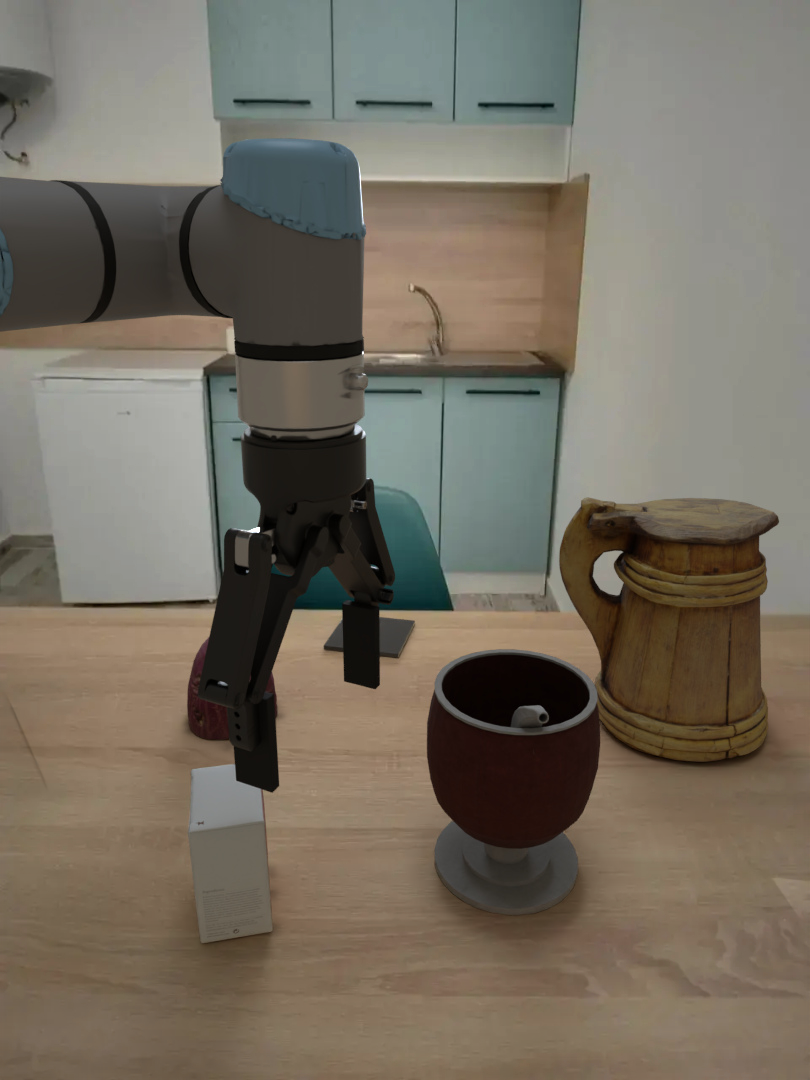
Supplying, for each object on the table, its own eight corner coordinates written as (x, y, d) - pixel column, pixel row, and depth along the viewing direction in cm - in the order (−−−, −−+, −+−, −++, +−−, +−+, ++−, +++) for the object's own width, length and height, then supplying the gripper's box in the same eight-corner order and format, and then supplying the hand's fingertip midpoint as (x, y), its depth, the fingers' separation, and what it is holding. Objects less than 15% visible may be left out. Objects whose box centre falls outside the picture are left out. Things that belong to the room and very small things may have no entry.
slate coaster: (323, 649, 108) (323, 645, 108) (345, 617, 117) (345, 613, 117) (398, 658, 106) (398, 653, 106) (414, 624, 115) (414, 620, 115)
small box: (273, 934, 64) (265, 822, 60) (199, 946, 63) (186, 833, 59) (267, 862, 71) (260, 758, 68) (201, 871, 70) (190, 766, 67)
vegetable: (289, 744, 93) (316, 637, 86) (201, 764, 87) (222, 652, 80) (253, 684, 100) (275, 582, 94) (169, 700, 95) (186, 591, 88)
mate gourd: (417, 812, 77) (418, 618, 70) (562, 804, 79) (578, 613, 72) (438, 945, 63) (443, 718, 56) (616, 932, 64) (642, 709, 57)
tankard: (787, 774, 83) (832, 541, 74) (550, 754, 86) (566, 527, 78) (745, 683, 100) (777, 484, 91) (547, 669, 103) (561, 475, 94)
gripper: (227, 486, 38) (254, 860, 45) (442, 396, 59) (436, 661, 66) (102, 466, 41) (147, 820, 48) (349, 387, 62) (354, 642, 69)
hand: (315, 728), depth 57 cm, fingers open, 13 cm apart
